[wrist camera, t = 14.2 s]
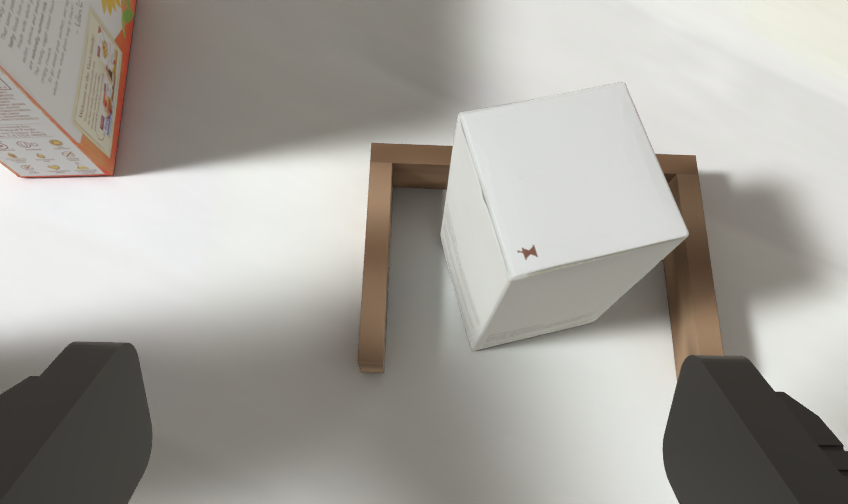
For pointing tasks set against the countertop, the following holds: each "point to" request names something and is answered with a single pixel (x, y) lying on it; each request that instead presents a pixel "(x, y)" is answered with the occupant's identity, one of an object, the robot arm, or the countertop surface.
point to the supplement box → (553, 212)
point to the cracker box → (62, 84)
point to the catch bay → (430, 170)
